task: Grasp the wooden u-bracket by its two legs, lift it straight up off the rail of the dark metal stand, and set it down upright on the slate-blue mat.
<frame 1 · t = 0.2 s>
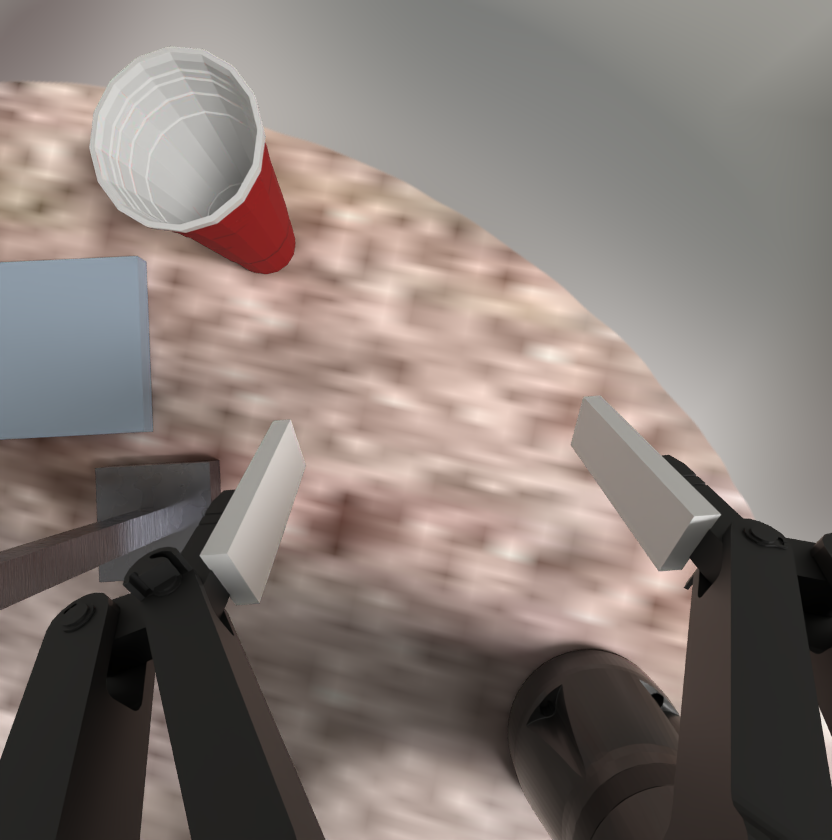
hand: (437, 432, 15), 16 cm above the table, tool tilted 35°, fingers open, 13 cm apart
stand: (167, 517, 30), on the table
mat: (63, 350, 31), on the table
plastic cup: (264, 246, 31), on the table
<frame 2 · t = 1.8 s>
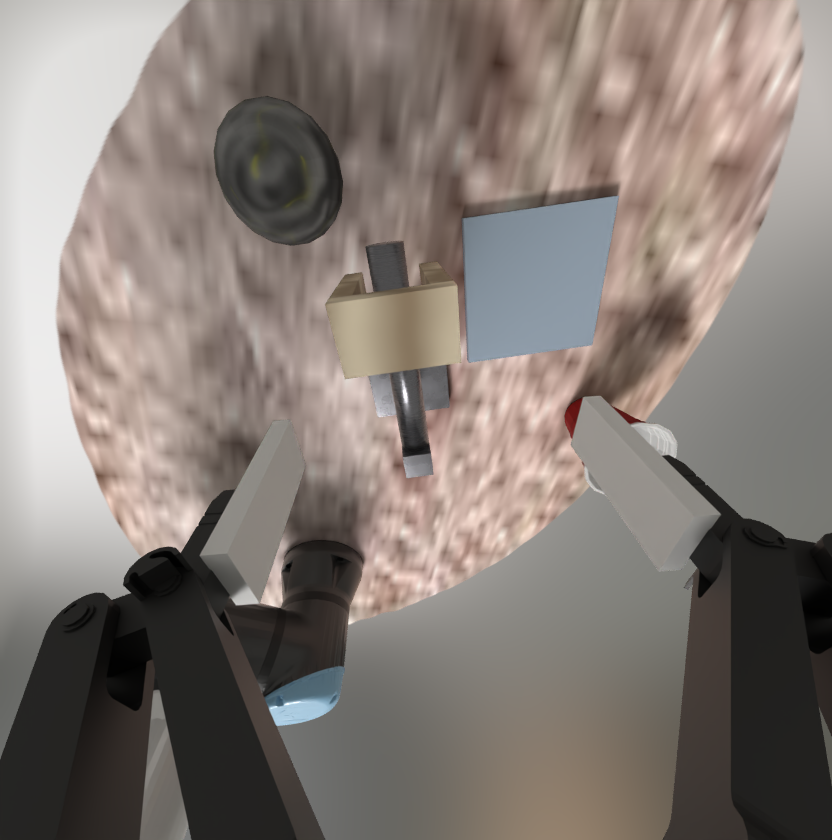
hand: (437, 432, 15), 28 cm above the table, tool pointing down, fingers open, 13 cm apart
stand: (408, 375, 44), on the table
wooden u-bracket: (395, 297, 30), point 9 cm above the table, touching stand
mat: (531, 287, 39), on the table
plastic cup: (582, 411, 49), on the table
decorative stone: (297, 182, 32), on the table
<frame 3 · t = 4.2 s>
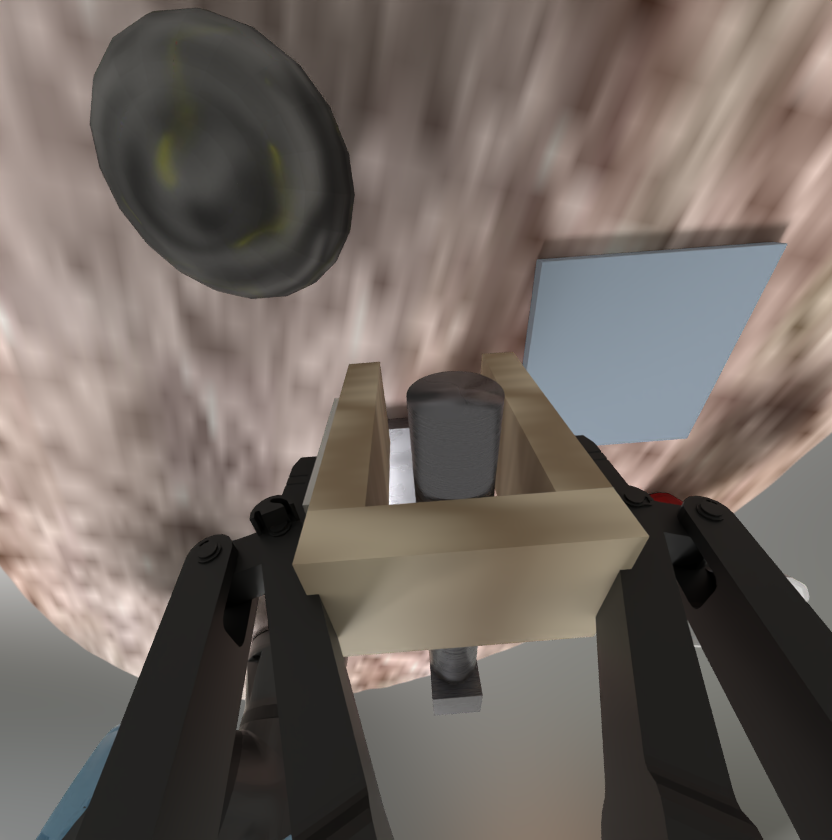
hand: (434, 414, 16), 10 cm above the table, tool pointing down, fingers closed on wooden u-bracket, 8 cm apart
stand: (428, 459, 32), on the table
wooden u-bracket: (432, 401, 17), point 9 cm above the table, touching gripper, stand
mat: (620, 360, 27), on the table
plastic cup: (648, 506, 38), on the table
decorative stone: (277, 185, 19), on the table
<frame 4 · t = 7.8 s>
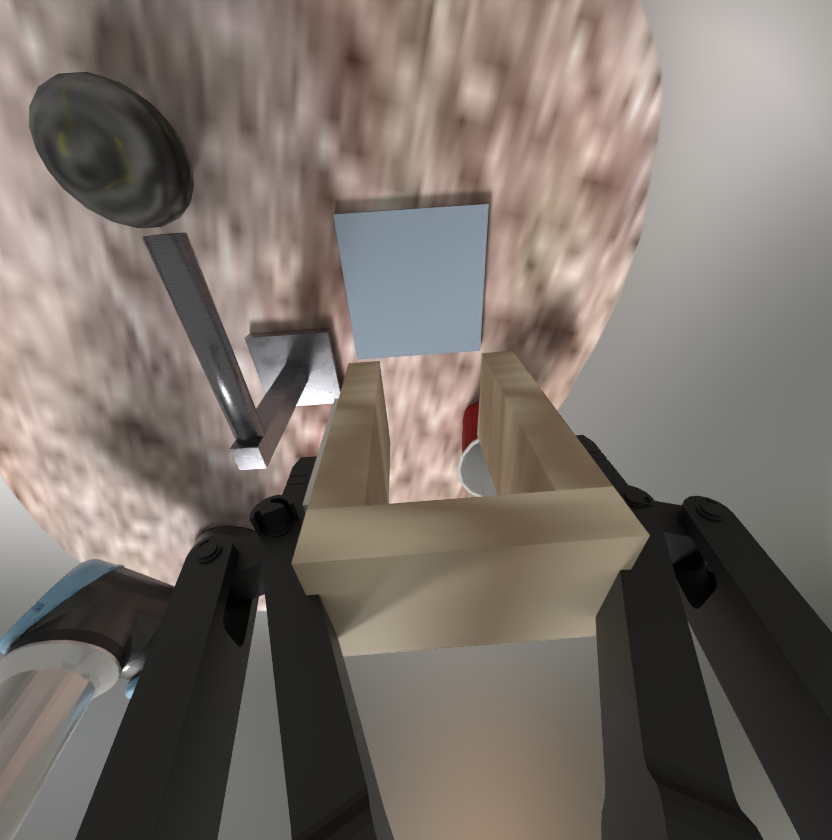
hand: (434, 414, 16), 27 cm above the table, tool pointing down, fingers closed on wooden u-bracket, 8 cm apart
stand: (299, 367, 44), on the table
wooden u-bracket: (432, 401, 17), point 26 cm above the table, touching gripper
mat: (415, 288, 39), on the table
plastic cup: (480, 415, 50), on the table
decorative stone: (158, 163, 32), on the table
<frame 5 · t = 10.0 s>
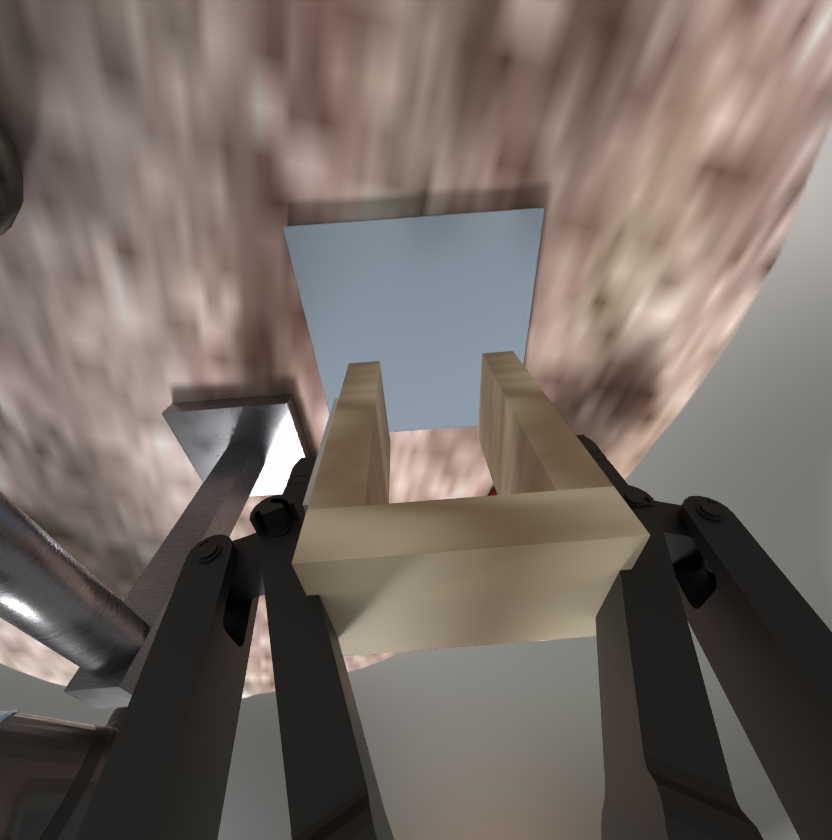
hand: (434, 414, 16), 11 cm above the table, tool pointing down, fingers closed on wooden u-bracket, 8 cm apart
stand: (252, 445, 30), on the table
wooden u-bracket: (432, 401, 17), point 10 cm above the table, touching gripper
mat: (420, 338, 25), on the table
when the fingers open (4 cm above the table, at t = 11.9 s): wooden u-bracket drops 1 cm, resting on mat.
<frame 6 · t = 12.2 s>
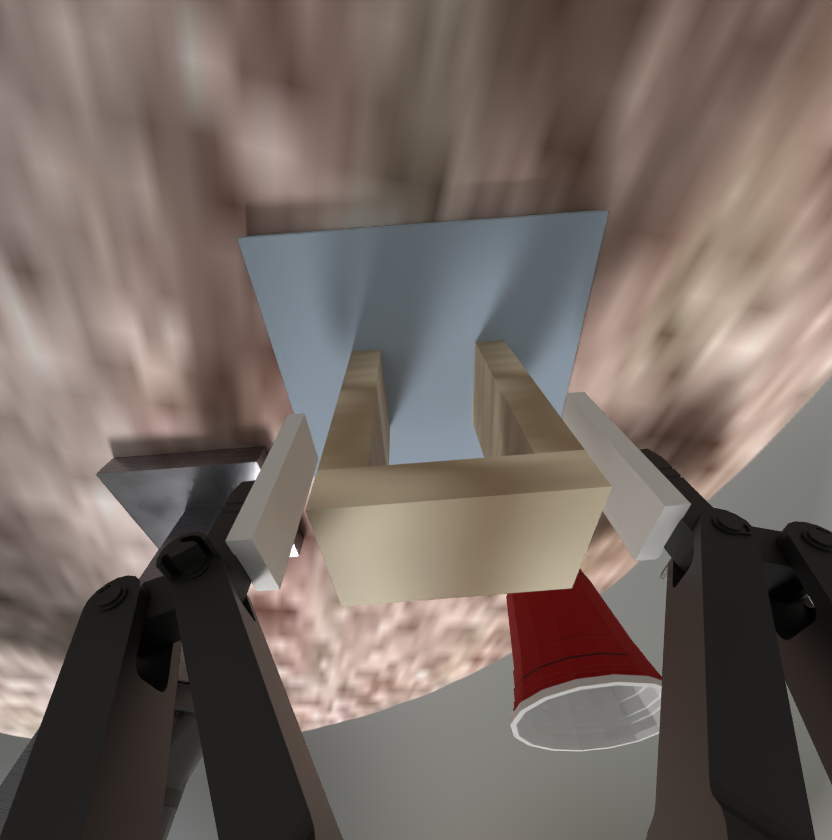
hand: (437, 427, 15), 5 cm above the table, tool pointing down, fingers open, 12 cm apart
stand: (219, 503, 24), on the table
wooden u-bracket: (429, 387, 19), point 1 cm above the table, touching mat
mat: (428, 379, 19), on the table
plastic cup: (532, 553, 30), on the table
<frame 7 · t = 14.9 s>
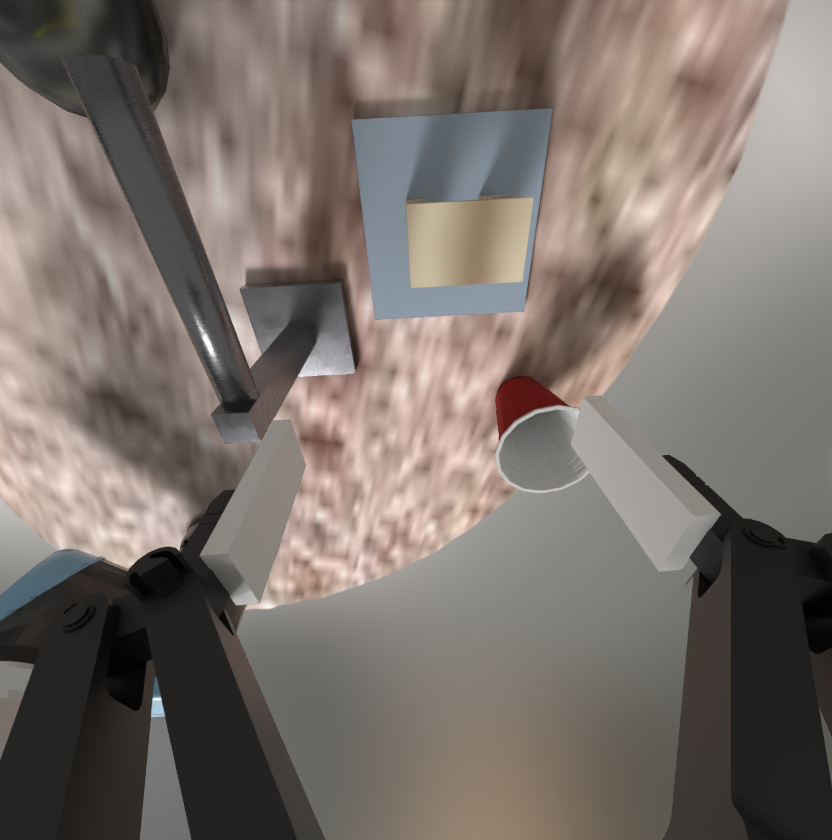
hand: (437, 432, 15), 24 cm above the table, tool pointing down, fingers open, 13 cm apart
stand: (305, 329, 37), on the table
wooden u-bracket: (450, 229, 31), point 1 cm above the table, touching mat
mat: (449, 228, 31), on the table
plastic cup: (516, 393, 43), on the table
decorative stone: (125, 43, 24), on the table
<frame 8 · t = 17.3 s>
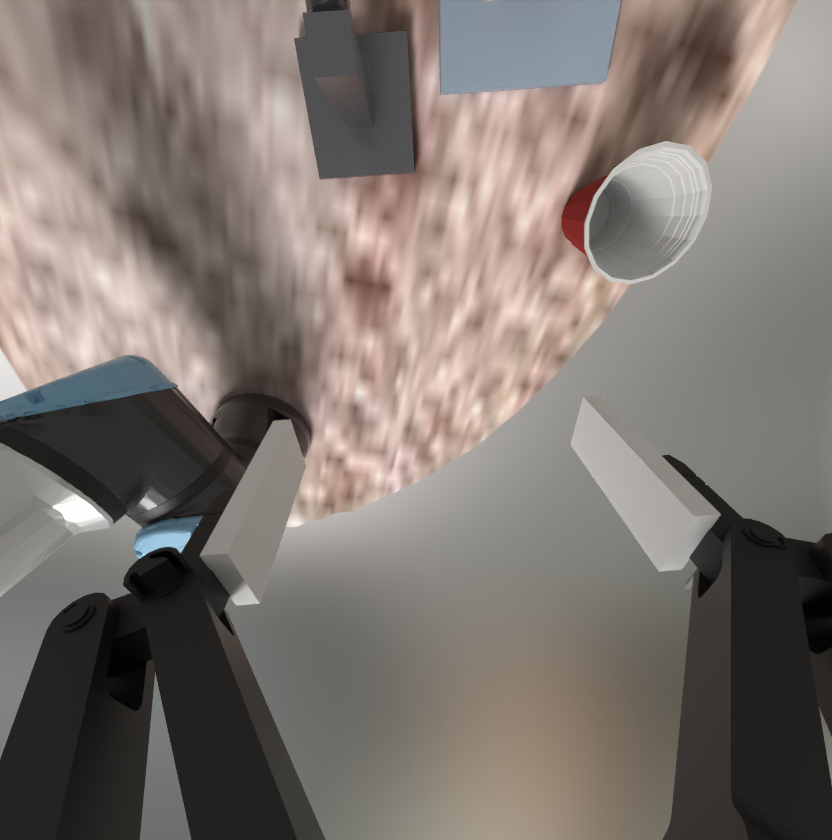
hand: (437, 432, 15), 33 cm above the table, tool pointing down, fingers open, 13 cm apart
stand: (361, 114, 33), on the table
plastic cup: (584, 213, 39), on the table
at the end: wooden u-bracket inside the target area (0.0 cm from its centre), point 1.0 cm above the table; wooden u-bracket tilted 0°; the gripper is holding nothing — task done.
